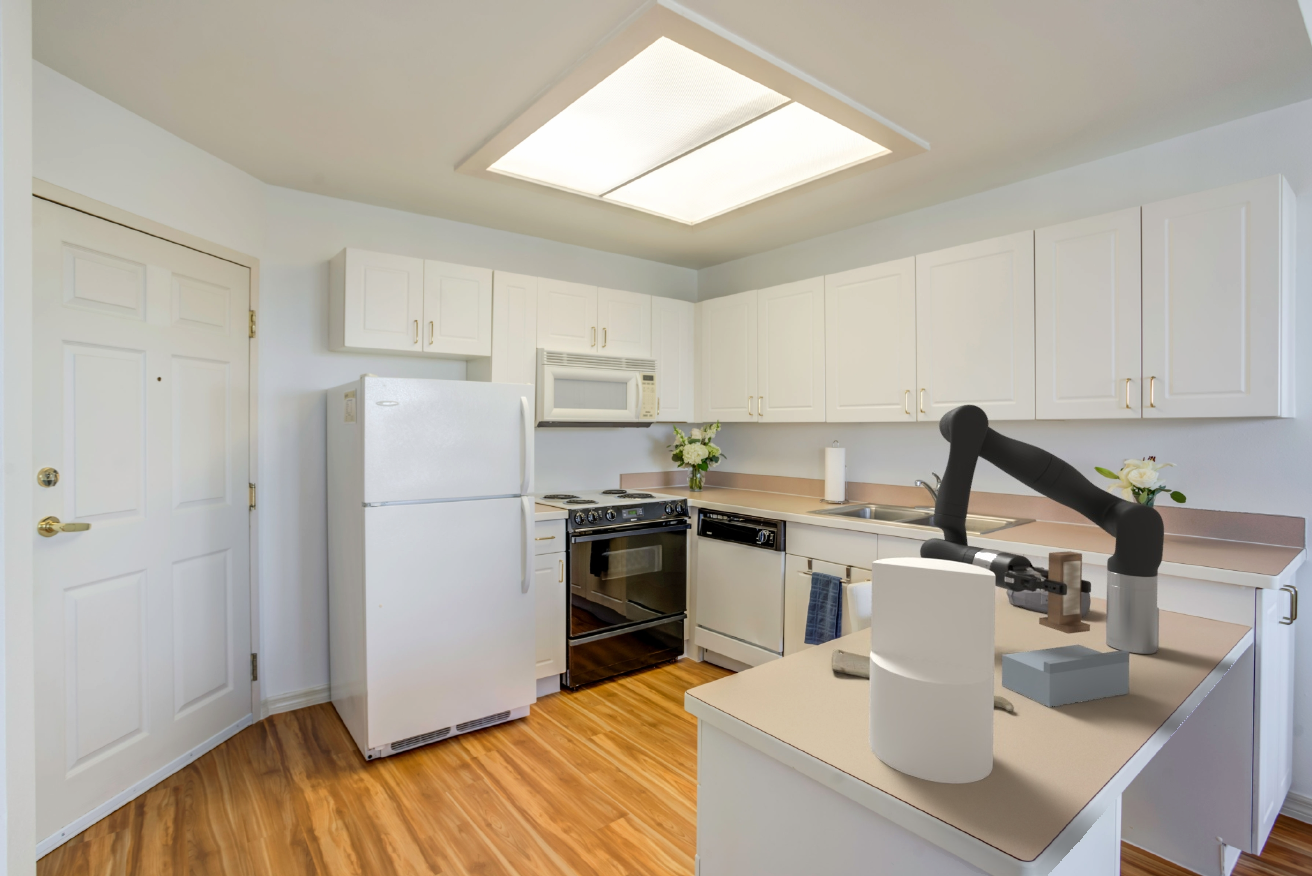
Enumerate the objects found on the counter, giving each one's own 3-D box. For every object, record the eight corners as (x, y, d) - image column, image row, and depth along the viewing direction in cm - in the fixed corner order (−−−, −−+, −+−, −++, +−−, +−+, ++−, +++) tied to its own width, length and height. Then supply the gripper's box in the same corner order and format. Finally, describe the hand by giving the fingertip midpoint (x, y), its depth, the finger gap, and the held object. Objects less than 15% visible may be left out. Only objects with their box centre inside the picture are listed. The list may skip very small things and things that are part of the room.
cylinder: (880, 716, 107) (882, 553, 107) (995, 742, 99) (997, 565, 98) (857, 761, 92) (859, 572, 92) (990, 797, 84) (993, 588, 83)
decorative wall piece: (837, 704, 114) (1017, 718, 108) (837, 688, 114) (1017, 701, 108) (825, 648, 144) (965, 656, 138) (825, 635, 144) (965, 643, 138)
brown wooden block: (1060, 621, 123) (1061, 549, 123) (1089, 630, 117) (1091, 555, 117) (1039, 623, 121) (1040, 550, 121) (1068, 633, 116) (1069, 557, 115)
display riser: (1077, 673, 127) (1078, 635, 127) (1128, 693, 118) (1129, 652, 118) (1001, 685, 121) (1002, 645, 121) (1049, 707, 111) (1049, 663, 111)
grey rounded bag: (1095, 611, 173) (1016, 597, 188) (1096, 581, 173) (1016, 569, 188) (1079, 622, 163) (997, 606, 178) (1080, 590, 163) (997, 576, 178)
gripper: (975, 553, 130) (1049, 571, 114) (1027, 550, 135) (1106, 566, 119) (974, 589, 131) (1048, 612, 115) (1027, 584, 135) (1105, 605, 119)
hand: (1077, 588), depth 117 cm, fingers closed on brown wooden block, 5 cm apart
